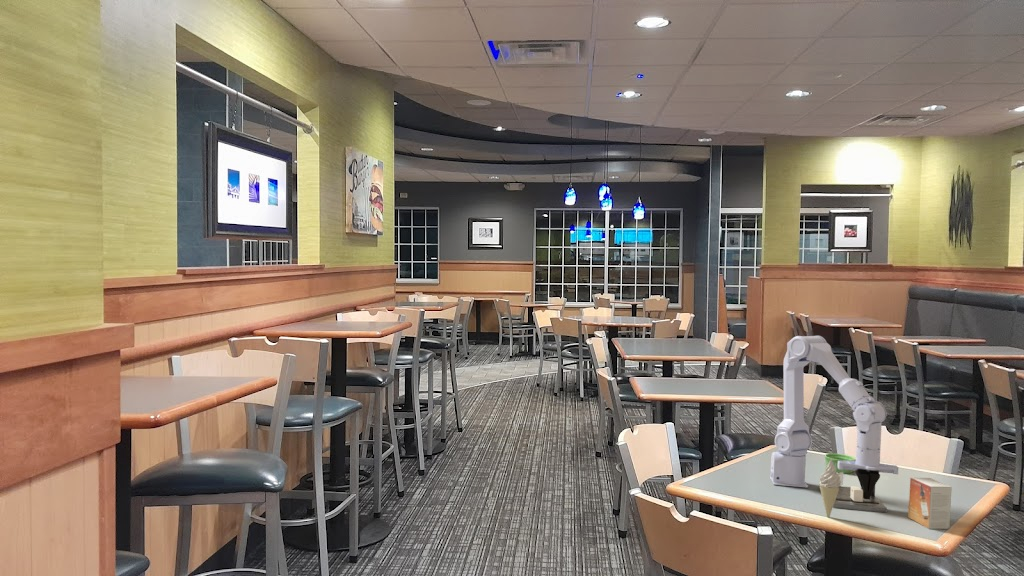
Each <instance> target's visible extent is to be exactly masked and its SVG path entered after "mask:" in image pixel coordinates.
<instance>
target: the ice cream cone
mask: <svg viewBox="0 0 1024 576" xmlns="http://www.w3.org/2000/svg"><path fill="white" fill-rule="evenodd" d="M840 484H841V480H840V477H839V475H838V473H837V472H836V469H835V467H834V464H833V462H832V458H831V459H830V461H829V463H828V465H827V467H826V466H825V468H824V472H823V473H821V474H820V477H819V483H818V487H819V486H820V489H819V491H820V490H821V491H820V493H821V497H822V501H823V505H824V510H825V514H826V518H830V516H831V514H832V510H833V505H834V502H835V499H836V497H837V494H838V491H839V488H840Z"/></svg>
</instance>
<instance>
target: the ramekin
mask: <svg viewBox="0 0 1024 576" xmlns="http://www.w3.org/2000/svg"><path fill="white" fill-rule="evenodd" d="M824 458H825V468H826V467H827V465H828V463H829V461H830V459H831V458H832V462H833V464H834V467H835V469H836V473H837V472H838V473H840V472H843V474H853V473H854V471H855V470H847V469H843V470H839V469H838V468H837V467H838V461H856V457H854V456H851V455H848V454H842V453H826V454H825V455H824ZM838 473H837V474H838Z"/></svg>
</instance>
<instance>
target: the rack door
mask: <svg viewBox="0 0 1024 576" xmlns="http://www.w3.org/2000/svg"><path fill="white" fill-rule="evenodd" d="M837 474H838V475H839V477H840V480H841V484H840V486H843V485H844V473H843V472H840V473H837Z"/></svg>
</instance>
